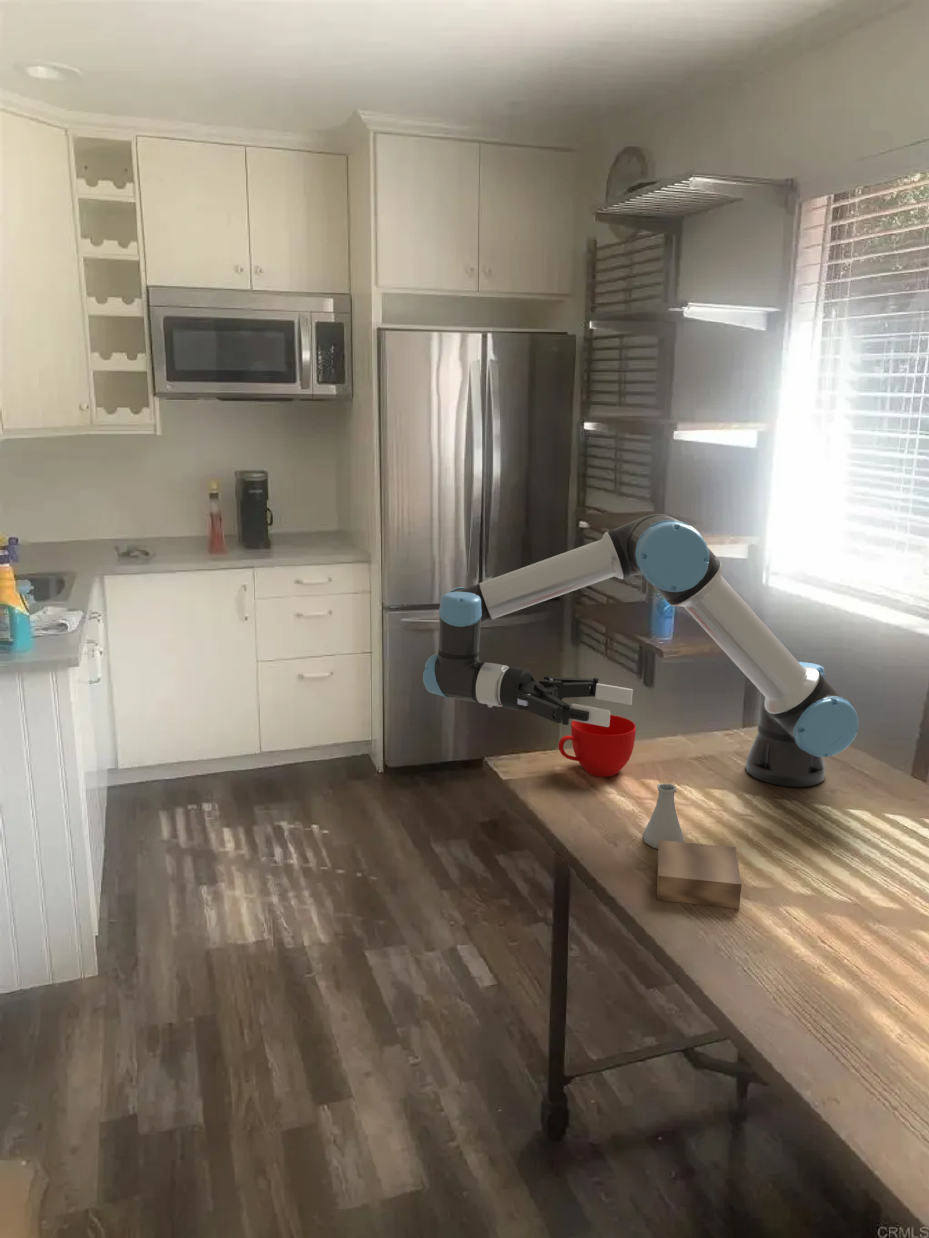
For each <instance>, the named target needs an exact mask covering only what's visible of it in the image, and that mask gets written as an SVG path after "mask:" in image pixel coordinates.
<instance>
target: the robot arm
mask: <svg viewBox="0 0 929 1238" xmlns="http://www.w3.org/2000/svg"><path fill="white" fill-rule="evenodd" d="M722 567H723V564H722V562H721V560H720V559H719V558H718V557H717V555H715V553H714V552H713V551H711V549H710V548H709V547H708V544H707V542H706V541H705V539H704V537H703V535H702V534H701V533H700V532H699V531H698V529H696V528H695V527H693V526H692V525H690V524H688V523H686V522H683V521H681V520H678V519H676V518H674V517H673V516H671V515H668V514H664V513H653V514H648V515H646V516H642V517H640V518H638V519H635V520H633V521H631V522H628V523H625V524H623V525H621V526H618V527H615V528H614V529H611V530H608V531H605V532H604V534H603V536H602V538H601V539H599V540H595V541H593V542H590V543H588V544H585V545H581V546H579V547H576V548H574V549H571V550H568V551H565V552H563V553H560V554H557V555H554V556H551V557H549V558H545V559H543V560H540V561H537V562H535V563H531V564H529V565H526V566H524V567H521V568H518V569H515V570H512V571H509V572H506V573H503V574H502V575H499V576H496V577H493V578H490V579H488V580H485V581H481V582H479V583H477V584H474V585H471V586H467V587H461V586H459V587H455V588H452V589H450V590H448V592H447V593H444V594H442V596H441V597H440V602H439V608H438V609H439V611H438V618H439V619H438V650H437V651H438V652H437V653H434V654H432V655H431V656H429V657H428V658H427V660H426V661H425V665H424V671H423V673H422V676H423V677H422V680H423V686H424V687H425V690H426V691H427V692H428V693H430V694H434V695H437V696H441V697H444V698H447V699H456V700H461V701H467V702H472V703H473V702H474V703H477V704H481V705H482V704H483V705H487V708H493V707H499V708H500V707H503V708H504V709H508V710H513V711H519V712H523V711H527V712H530V713H531V714H535V715H537V716H539V717H542V718H543V719H547V720H549V721H551V722H553V723H556V724H562V725H564V726H568V725H569V724H570V721H571V722H572V721H578V722H583V723H588V724H594V725H599V726H604V727H609V725H610V715H611V713H612V712H611V711H612V710H610V709H606V708H601V707H596V706H595V707H594V706H589V705H583V704H578V703H571V705H569V704H568V703H566V702H565V701H563V699H564V698H565V699H567V698H569V699H570V698H587V697H588V698H590V697H591V698H592V697H595V698H594V699H595V700H601V701H605V702H613V703H617V704H623V705H627V706H631V705H632V704H633V695H634V693H633V692H634V689H633V688H630V687H629V688H628V687H621V686H616V685H609V684H604V683H599V678H598V677H593V678H580V677H555V676H549V675H545V676H543V679H540V680H539V679H538V680H535V679H534V678H533V674H532V672H531V670H529V669H527V668H522V667H515V666H508V665H505V664H499V663H494V662H485V661H480V658H479V657H480V656H479V655H480V640H481V624H484V623H486V622H488V621H491V620H494V619H497V618H501V617H503V616H505V615H509V614H512V613H513V612H517V611H519V610H522V609H525V608H529V607H531V606H534V605H537V604H539V603H542V602H546V601H549V600H551V599H554V598H556V597H559V596H562V595H566V594H568V593H571V592H573V591H577V590H579V589H583V588H586V587H589V586H592V585H594V584H596V583H600V582H602V581H604V580H608V579H611V578H614V577H615V578H618V579H620V580H624V579H626V578H629V577H632V576H633V577H634V576H637V575H638V576H639V575H642V576H643V578H644V579H645V580H646V581H647V582H648V583H649V584H651V586H653V588H654V589H655V590H656V591H657V592H658V593H659V594H660V596H662V597H663V598H664V599H665V601H666V602H667V603H668V604H669V605H670V606H671V607H683V608H684V609H685V611H687V613H689V615H690V616H692V618H693V620H695V621H696V623H698V624H699V625H700V627H701V628H702V629H703V630H704V631H705V632H706V633H707V635H709V636H710V638H711V639H712V640H713V641H714V642H715V643H716V644H717V645H718V647H719V648H720V649H721V650H722V651H723V652H724V653H725V654H726V655H727V656H728V657H729V659H730V660H731V661H732V662H733V663H734V665H735V666H736V667H738V668H739V670H740V671H741V672H742V673H743V674H744V675H745V676H746V678H748V679H749V680H750V681H751V683H752V684H753V685H754V686H755V687H756V688H757V689H758V690H759V692H760V695H759V711H758V724H757V725H758V726H757V734H756V736H755V738H754V740H753V743H752V744H751V747H750V750H749V751H748V754H747V757H746V762H745V764H746V765H745V770H746V772H747V773H748V774H749V775H750V776H752V777H753V778H754V779H757V780H760V781H761V782H765V783H768V784H772V785H776V786H782V787H788V788H790V787H791V788H805V787H812V786H816V785H819V784H821V783H822V782H824V780H825V774H826V765H825V761H824V757H825V758H826V757H832V756H836V755H838V754H840V753H842V752H843V751H845V750H846V749H847V748H848V747H849V746H850V745H851V744H852V743H853V742H854V740H855V738H856V737H857V735H858V729H859V726H860V722H859V716H858V713H857V711H856V709H855V708H854V706H853V705H852V703H851V702H850V701H849V700H847V699H846V698H843V697H842V696H841V695H840V693H838V692H837V691H836V689H835V688H834V687H833V686H832V685H831V684H830V683H829V682H828V681H827V680H826V673H825V671H826V670H825V668H824V667H823V666H822V665H820V664H817V663H812V662H811V663H810V662H806V661H805V662H804V661H799V660H797V659H796V658H795V657H794V655H792V653H791V652H790V651H789V649H787V648H786V646H785V645H784V644H783V642H781V641H780V640H779V639H778V638H777V636H776V635H775V634H774V633H773V632H772V630H770V628H769V627H768V626H767V625H766V624H765V623H764V622H763V620H761V618H759V616H758V615H757V614H756V613H755V612H754V610H753V609H751V607H750V606H749V605H748V604H747V603H746V601H744V600H743V598H742V597H741V596H740V595H739V593H737V592H736V590H735V589H734V588H733V587H732V586H731V585H730V584H729V582H728V581H727V580H726V579H725V578H724V577H723V576H722Z"/></svg>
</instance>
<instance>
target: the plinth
mask: <svg viewBox="0 0 929 1238" xmlns="http://www.w3.org/2000/svg"><path fill="white" fill-rule="evenodd" d="M738 861H739V860H738V856H737V849H736V846H730V845H729V846H726V845H717V844H705V843H698V842H688V841H687V842H686V841H684V842H677V841H667V840H659V843H658V848H657V861H656V863H657V864H656V865H657V866H656V868H657V871H656V875H657V876H656V878H657V879H656V883H657V884H656V901H666V902H675V903H682V904H692V905H693V904H694V905H702V906H710V907H717V908H720V907H721V908H730V909H737V910H739V909H740V906H741V894H742V893H741V892H742V880H741V875H740V867H739V862H738Z"/></svg>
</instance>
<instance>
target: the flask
mask: <svg viewBox="0 0 929 1238" xmlns="http://www.w3.org/2000/svg"><path fill="white" fill-rule="evenodd" d="M656 786H657V787H656V788H657V791H658V795H657V796H658V797H657V800H656V804H655V807H654V810H653V812H652V814H651V816H650V819H648V822H647V824H646V827H645V828H644V831H643V833H642V836H643V842H644V843H645V844H647V845H648V846H651V847H652V848H654V849H658V843H659V840H667V841H677V842H685V837H684V834H683V831H682V828H681V824H680V822H679V818H678V814H677V811H676V805H675V793H676V792H677V786H676V785H674V784H672V783H667V782H666V783H664V782H663V783H660V784H656Z"/></svg>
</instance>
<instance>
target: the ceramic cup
mask: <svg viewBox="0 0 929 1238" xmlns="http://www.w3.org/2000/svg"><path fill="white" fill-rule="evenodd" d="M570 724H571V725H570V729H571V731H570V733H571V735H563V736H562V737H561V738H560V740H559V742H558V751H559V752H560V754H561V755H562V756H563V758H565V759H568V760H570V761H574V762H575V761H576V762H579V764H580V766H581V767H583V769H584V770H585V771H586V773H587V774H589V775H590V776H595V777H598V778H601V777H602V778H607V777H613V776H616V775H618V773H619V772H620V771H621V770H622V769H623V768H624V767H625V766H626V765H627V763H628V762H629V760H630V758H631V756H632V753H633V750H634V746H635V741H636V740H635V739H636V730H637V727H636V723H634V721H632V720H630V719H628V718H626V717H623V716H619V715H613V714H610V725H609V727H604V726H599V725H594V724H588V723H583V722H578V721H572V720H571V723H570ZM569 740H570V741H571V744H572V748H573V753H574V755H575V756H573V755H569V754H567V753H566V751H565V749H564V746H565V745H564V744H565V742H566V741H569Z"/></svg>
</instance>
